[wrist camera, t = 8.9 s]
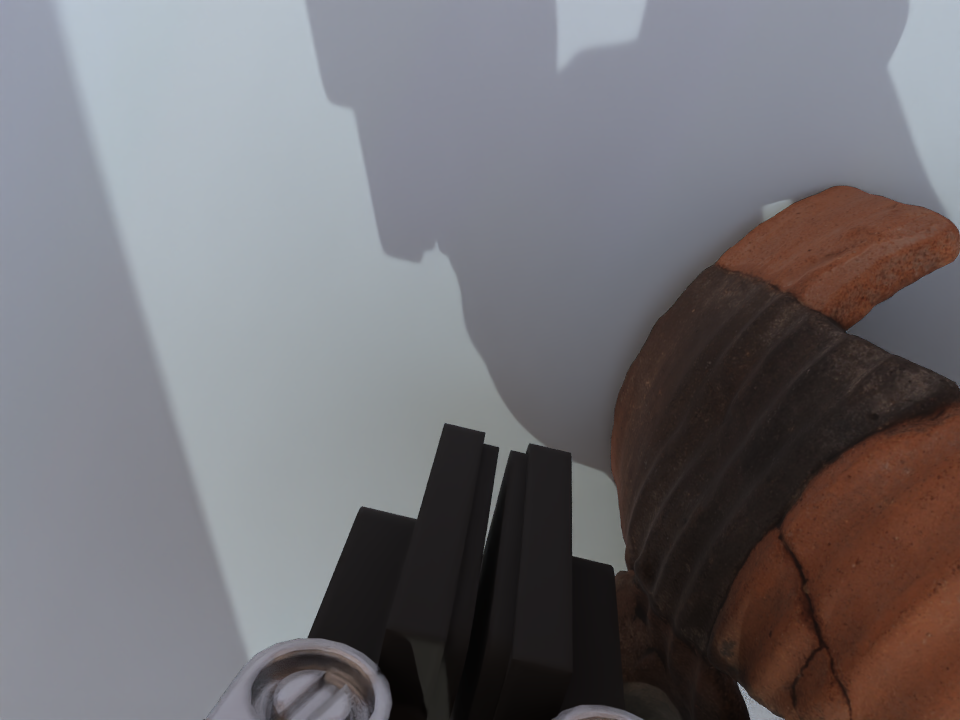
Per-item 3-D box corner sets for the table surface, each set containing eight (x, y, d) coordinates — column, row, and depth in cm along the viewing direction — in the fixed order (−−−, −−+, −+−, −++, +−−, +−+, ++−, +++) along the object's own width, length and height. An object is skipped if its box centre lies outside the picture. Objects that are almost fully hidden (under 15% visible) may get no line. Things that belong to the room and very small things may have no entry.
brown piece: (1002, -18, 12) (2096, 315, 5) (1035, 388, 18) (1557, 752, 12) (266, 527, 12) (511, 1389, 6) (552, 734, 18) (813, 1253, 12)
